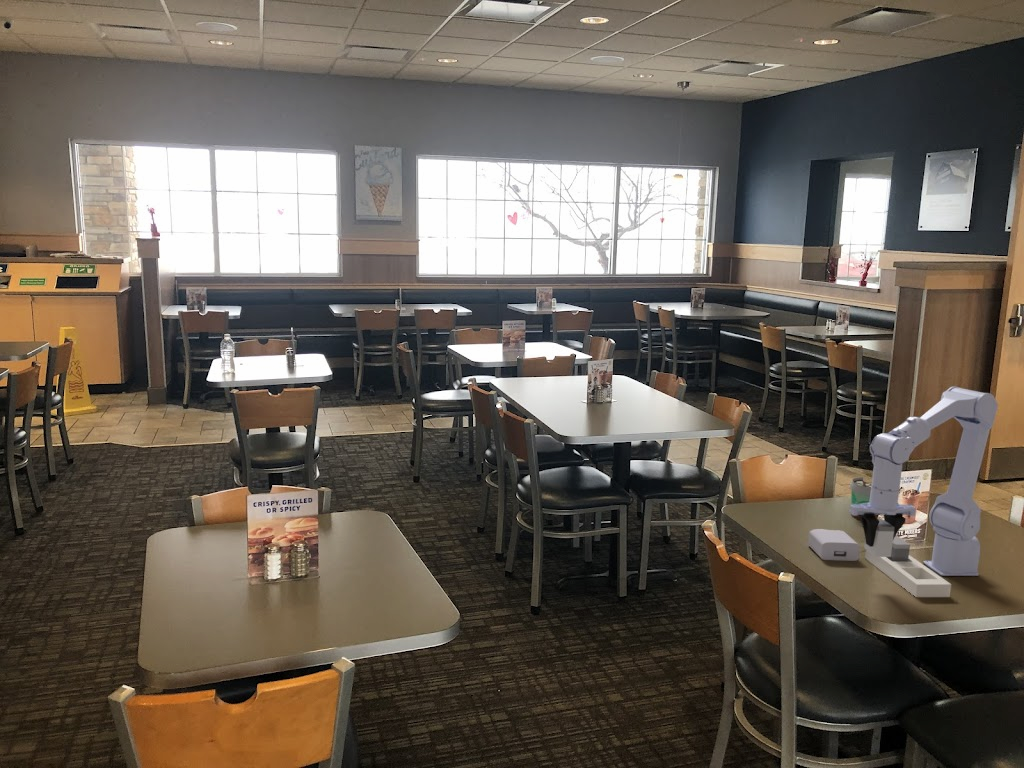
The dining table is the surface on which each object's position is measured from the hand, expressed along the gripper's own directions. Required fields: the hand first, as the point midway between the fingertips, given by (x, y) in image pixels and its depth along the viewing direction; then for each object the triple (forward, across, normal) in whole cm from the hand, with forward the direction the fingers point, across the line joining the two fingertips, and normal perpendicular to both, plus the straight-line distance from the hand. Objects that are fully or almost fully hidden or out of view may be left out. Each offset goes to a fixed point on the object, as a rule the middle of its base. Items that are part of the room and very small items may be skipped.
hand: (878, 545), depth 187 cm
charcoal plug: (+10, +10, +9) cm, 16 cm away
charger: (+10, -1, +21) cm, 23 cm away
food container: (+10, +20, +45) cm, 50 cm away
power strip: (+9, +10, +4) cm, 14 cm away
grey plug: (+2, 0, 0) cm, 2 cm away
